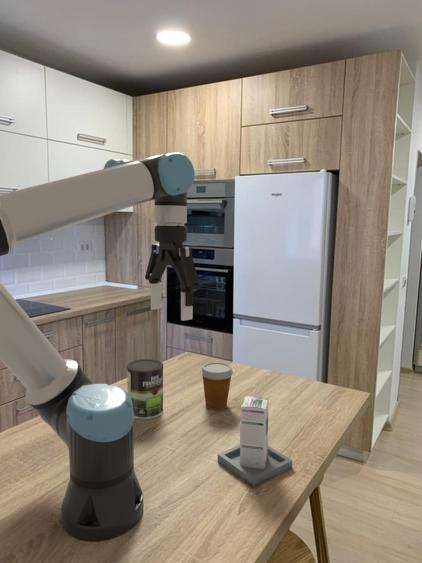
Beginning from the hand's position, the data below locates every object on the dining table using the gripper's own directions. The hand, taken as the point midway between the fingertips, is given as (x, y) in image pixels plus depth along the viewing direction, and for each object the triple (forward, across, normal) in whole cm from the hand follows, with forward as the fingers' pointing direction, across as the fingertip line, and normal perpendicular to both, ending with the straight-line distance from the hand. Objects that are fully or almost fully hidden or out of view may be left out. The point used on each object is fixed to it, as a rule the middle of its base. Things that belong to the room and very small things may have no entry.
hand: (170, 314), depth 101 cm
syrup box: (+32, -20, -10) cm, 39 cm away
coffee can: (+33, +18, -3) cm, 38 cm away
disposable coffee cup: (+33, +9, -22) cm, 41 cm away
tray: (+33, -20, -10) cm, 40 cm away
